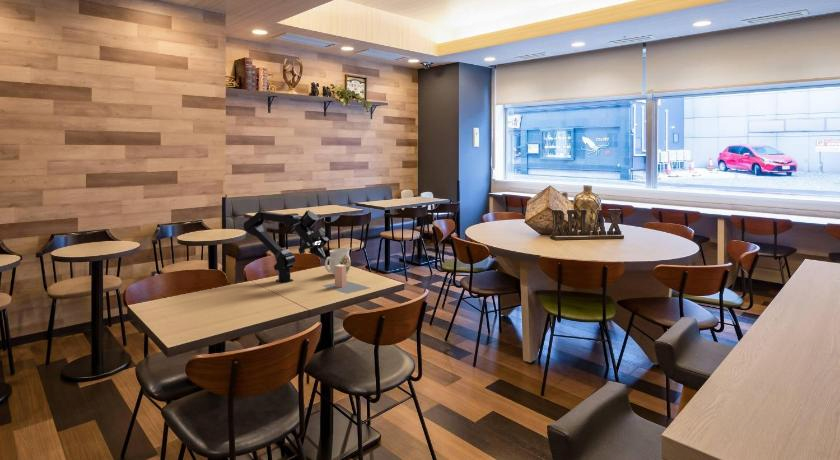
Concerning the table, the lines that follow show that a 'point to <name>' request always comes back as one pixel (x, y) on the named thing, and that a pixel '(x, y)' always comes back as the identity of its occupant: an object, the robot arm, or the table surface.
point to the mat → (347, 287)
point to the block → (340, 275)
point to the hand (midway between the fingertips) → (325, 258)
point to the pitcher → (338, 259)
